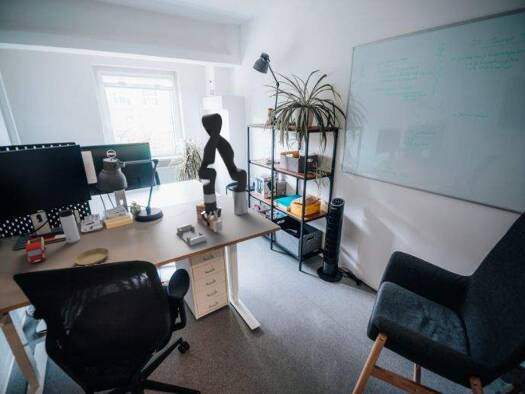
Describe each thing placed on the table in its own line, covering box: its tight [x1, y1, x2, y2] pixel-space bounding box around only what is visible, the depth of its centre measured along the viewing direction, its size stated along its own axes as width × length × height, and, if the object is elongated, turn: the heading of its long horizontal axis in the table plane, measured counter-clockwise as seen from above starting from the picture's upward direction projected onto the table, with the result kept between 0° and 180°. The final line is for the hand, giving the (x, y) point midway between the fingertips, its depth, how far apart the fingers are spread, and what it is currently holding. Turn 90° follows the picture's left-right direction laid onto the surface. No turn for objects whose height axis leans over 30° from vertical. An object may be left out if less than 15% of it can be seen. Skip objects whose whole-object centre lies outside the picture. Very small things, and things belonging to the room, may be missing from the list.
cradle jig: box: [176, 223, 208, 248], centre depth 147 cm, size 10×20×4 cm, turn 39°
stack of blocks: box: [195, 198, 206, 223], centre depth 176 cm, size 21×6×12 cm, turn 170°
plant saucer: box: [74, 247, 110, 266], centre depth 126 cm, size 15×15×3 cm
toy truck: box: [25, 236, 47, 264], centre depth 129 cm, size 7×21×10 cm, turn 40°
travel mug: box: [57, 208, 81, 244], centre depth 141 cm, size 6×7×20 cm
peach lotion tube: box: [202, 214, 223, 233], centre depth 154 cm, size 5×16×6 cm, turn 40°
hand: (212, 225), depth 155 cm, fingers closed on peach lotion tube, 4 cm apart
